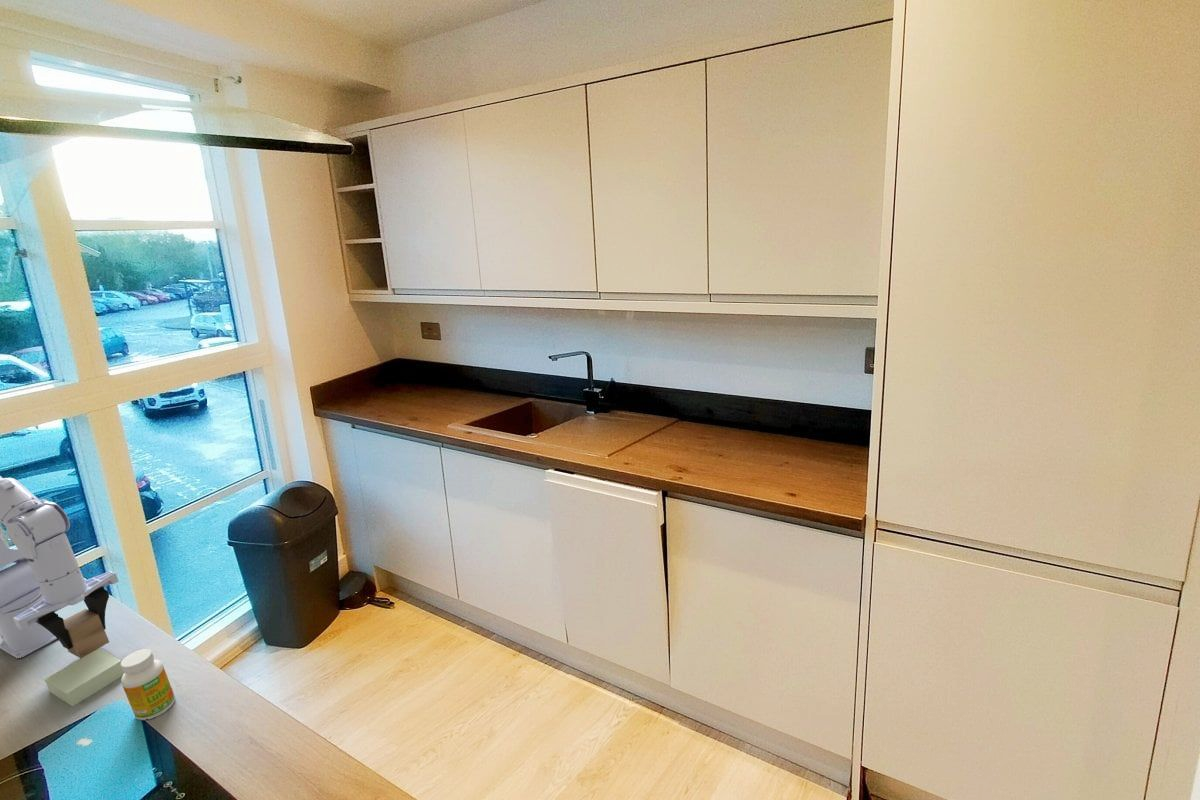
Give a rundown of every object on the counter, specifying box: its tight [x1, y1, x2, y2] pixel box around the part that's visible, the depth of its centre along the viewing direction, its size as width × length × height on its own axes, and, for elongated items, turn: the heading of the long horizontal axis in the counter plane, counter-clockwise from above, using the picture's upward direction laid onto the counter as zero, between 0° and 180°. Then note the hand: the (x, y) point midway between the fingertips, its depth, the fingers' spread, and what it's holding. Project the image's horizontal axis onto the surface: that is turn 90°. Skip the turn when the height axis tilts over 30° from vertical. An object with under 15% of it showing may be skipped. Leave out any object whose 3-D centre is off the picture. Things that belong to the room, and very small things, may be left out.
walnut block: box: [63, 608, 110, 659], centre depth 112 cm, size 4×4×6 cm
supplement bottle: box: [120, 648, 176, 721], centre depth 97 cm, size 5×5×10 cm
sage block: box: [43, 648, 124, 707], centre depth 106 cm, size 8×8×3 cm
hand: (85, 637), depth 112 cm, fingers closed on walnut block, 4 cm apart
